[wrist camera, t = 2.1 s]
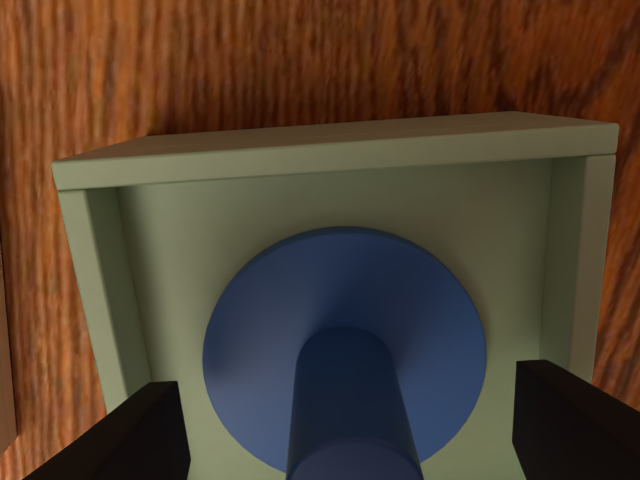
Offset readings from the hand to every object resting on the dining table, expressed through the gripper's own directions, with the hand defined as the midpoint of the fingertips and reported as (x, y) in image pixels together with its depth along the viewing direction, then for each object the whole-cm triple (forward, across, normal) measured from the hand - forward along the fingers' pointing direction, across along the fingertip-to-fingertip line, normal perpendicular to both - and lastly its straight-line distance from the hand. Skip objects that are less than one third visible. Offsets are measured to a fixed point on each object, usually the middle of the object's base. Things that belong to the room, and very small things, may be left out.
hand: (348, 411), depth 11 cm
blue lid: (+2, 0, 0) cm, 2 cm away
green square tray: (+6, 0, 0) cm, 6 cm away
